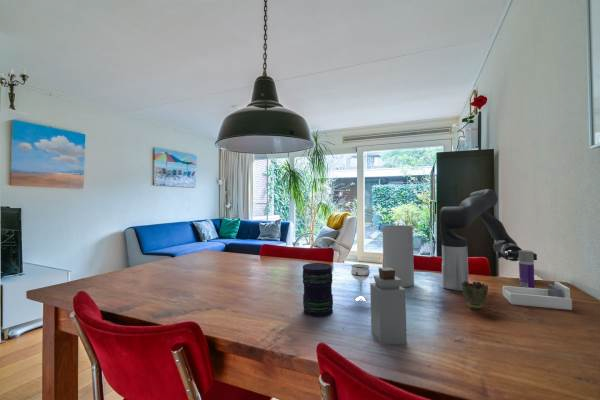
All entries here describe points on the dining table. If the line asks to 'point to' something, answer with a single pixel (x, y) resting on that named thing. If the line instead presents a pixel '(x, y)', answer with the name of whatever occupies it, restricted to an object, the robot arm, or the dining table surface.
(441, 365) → the dining table surface
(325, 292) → the storage jar
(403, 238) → the grey rectangular pillar
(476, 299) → the cup
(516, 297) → the white drawer
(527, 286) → the container
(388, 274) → the perfume bottle
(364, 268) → the wineglass
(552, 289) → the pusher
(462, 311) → the dining table surface
